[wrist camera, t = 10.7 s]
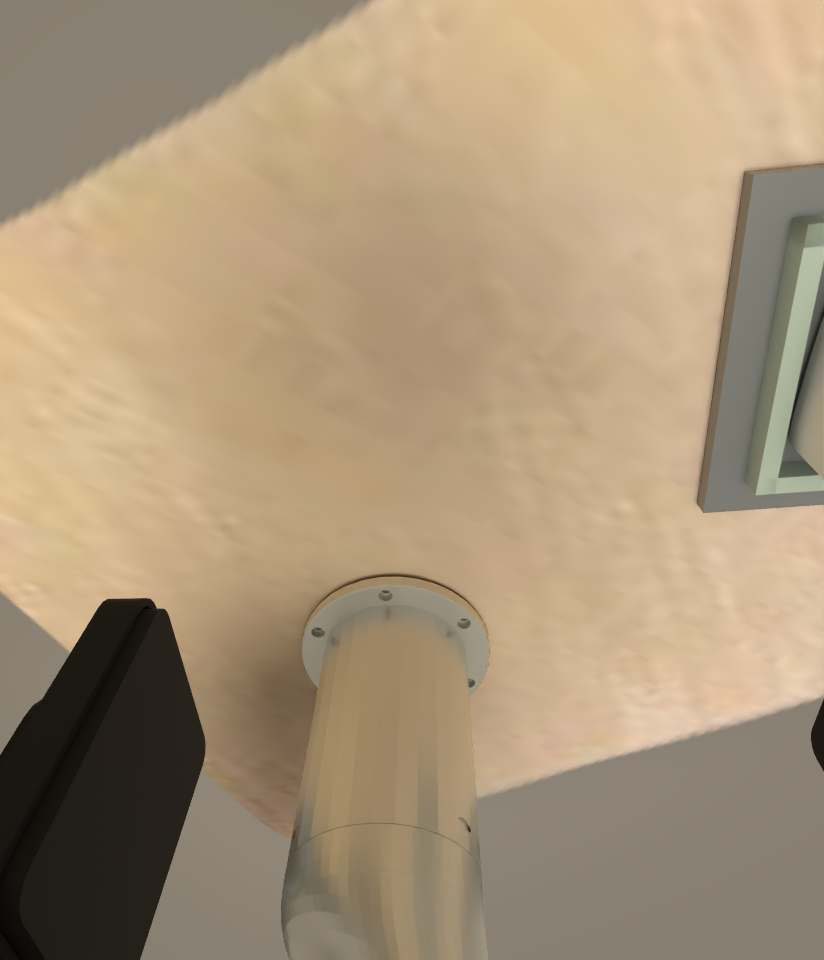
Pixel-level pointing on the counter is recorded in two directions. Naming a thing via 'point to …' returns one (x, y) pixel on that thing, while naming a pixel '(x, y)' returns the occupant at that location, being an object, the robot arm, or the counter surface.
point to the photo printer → (811, 410)
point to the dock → (767, 345)
